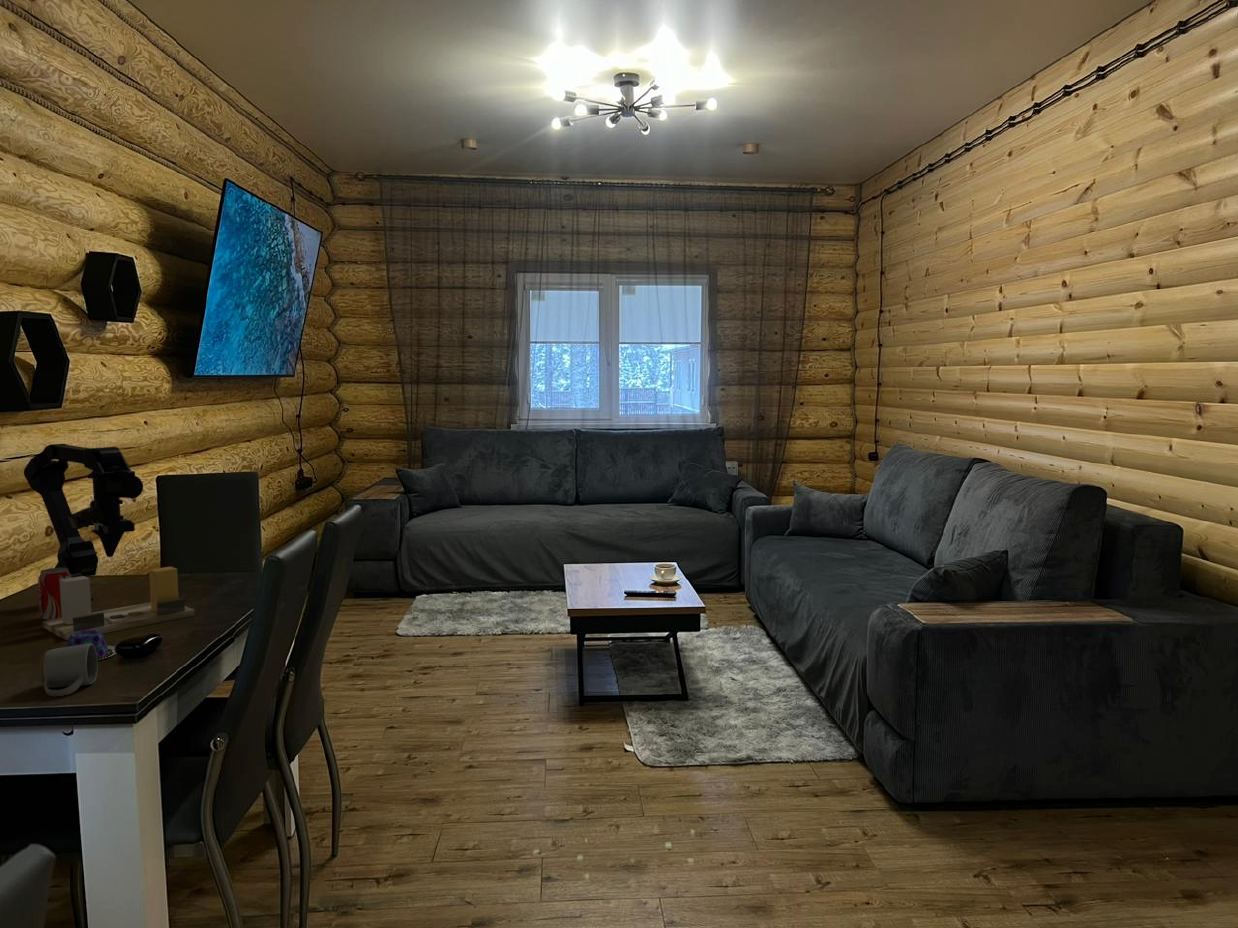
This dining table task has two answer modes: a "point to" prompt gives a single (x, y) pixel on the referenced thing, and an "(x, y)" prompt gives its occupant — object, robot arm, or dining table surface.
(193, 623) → the dining table surface
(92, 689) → the dining table surface
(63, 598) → the white tall rectangular block
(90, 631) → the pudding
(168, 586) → the large amber box
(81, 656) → the ceramic mug
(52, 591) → the soda can
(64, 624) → the key board
